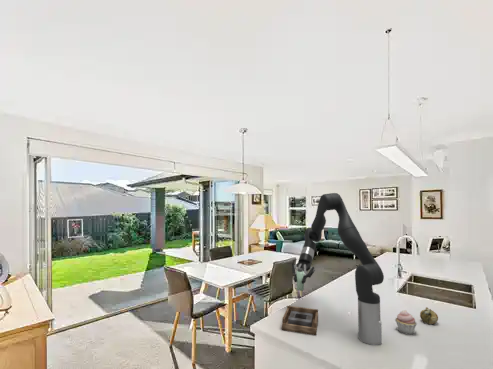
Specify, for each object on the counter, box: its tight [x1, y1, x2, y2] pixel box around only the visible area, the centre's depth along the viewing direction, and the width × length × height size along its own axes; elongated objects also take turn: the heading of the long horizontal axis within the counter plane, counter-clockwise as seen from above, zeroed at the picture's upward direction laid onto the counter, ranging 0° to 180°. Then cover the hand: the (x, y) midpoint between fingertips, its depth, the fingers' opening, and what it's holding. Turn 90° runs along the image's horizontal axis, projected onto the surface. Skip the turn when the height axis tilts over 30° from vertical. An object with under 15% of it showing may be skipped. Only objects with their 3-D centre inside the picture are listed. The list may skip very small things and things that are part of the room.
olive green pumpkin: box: [419, 307, 439, 325], centre depth 141 cm, size 8×8×8 cm
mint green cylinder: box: [296, 267, 305, 292], centre depth 151 cm, size 4×4×12 cm
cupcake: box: [394, 309, 418, 335], centre depth 131 cm, size 9×9×10 cm
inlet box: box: [281, 305, 319, 336], centre depth 135 cm, size 16×16×6 cm
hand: (299, 282), depth 149 cm, fingers closed on mint green cylinder, 4 cm apart
